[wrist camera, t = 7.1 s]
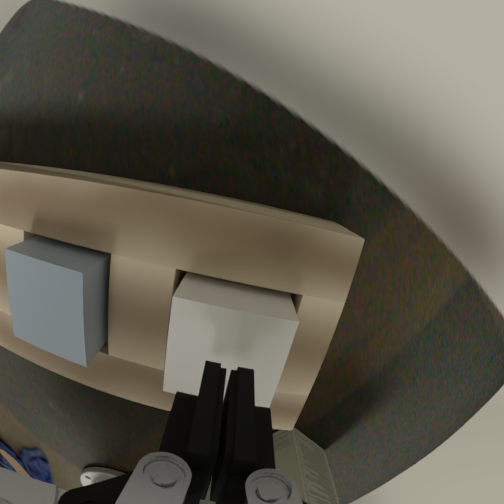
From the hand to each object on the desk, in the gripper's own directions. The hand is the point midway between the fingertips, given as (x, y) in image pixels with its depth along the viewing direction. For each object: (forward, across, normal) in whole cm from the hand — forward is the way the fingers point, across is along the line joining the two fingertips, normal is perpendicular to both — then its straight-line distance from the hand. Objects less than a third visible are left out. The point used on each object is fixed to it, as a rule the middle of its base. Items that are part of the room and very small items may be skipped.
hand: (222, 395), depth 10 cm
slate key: (+5, +9, 0) cm, 10 cm away
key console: (+9, +9, 0) cm, 13 cm away
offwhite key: (+5, 0, 0) cm, 5 cm away
